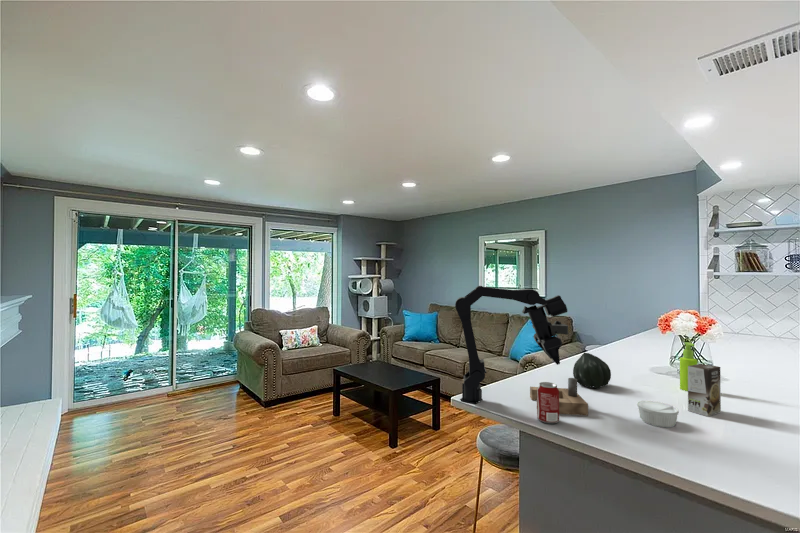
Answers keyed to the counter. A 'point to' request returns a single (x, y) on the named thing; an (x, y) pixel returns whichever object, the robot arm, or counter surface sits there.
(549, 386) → the soda can
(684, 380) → the soap dispenser
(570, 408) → the peg board
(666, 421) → the ramekin
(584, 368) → the squash
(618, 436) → the counter surface
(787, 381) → the counter surface
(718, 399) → the coffee box
